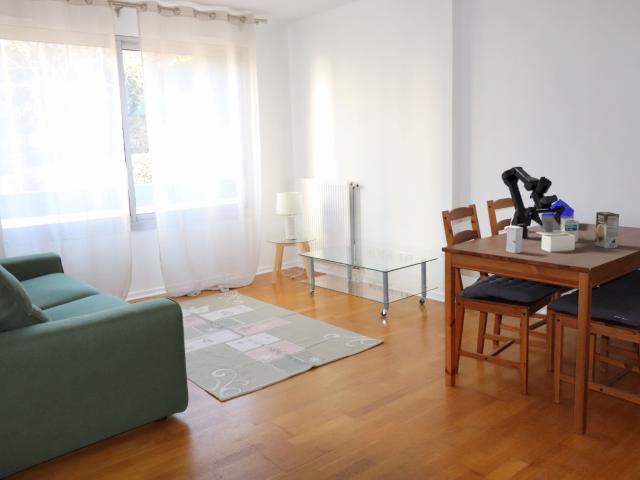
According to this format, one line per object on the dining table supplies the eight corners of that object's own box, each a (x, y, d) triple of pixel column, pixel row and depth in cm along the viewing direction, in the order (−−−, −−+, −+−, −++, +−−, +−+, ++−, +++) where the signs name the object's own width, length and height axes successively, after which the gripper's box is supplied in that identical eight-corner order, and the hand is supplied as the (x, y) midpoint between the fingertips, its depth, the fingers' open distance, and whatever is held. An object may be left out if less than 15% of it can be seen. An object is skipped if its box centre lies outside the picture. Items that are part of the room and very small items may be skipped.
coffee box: (594, 244, 279) (595, 212, 276) (606, 244, 279) (608, 211, 276) (604, 248, 270) (606, 214, 267) (617, 247, 270) (619, 213, 267)
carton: (541, 249, 273) (541, 234, 271) (564, 247, 274) (565, 233, 273) (550, 252, 265) (550, 237, 264) (574, 250, 266) (574, 235, 265)
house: (545, 223, 351) (546, 197, 349) (573, 224, 344) (575, 198, 341) (540, 229, 330) (541, 202, 327) (570, 230, 322) (572, 202, 320)
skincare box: (505, 251, 270) (506, 226, 268) (513, 250, 272) (513, 225, 270) (515, 253, 264) (515, 227, 262) (522, 252, 266) (523, 227, 264)
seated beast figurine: (503, 230, 330) (503, 209, 328) (517, 229, 331) (518, 208, 328) (510, 232, 321) (510, 211, 318) (525, 232, 321) (525, 210, 319)
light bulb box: (578, 242, 286) (579, 221, 284) (564, 242, 288) (564, 221, 286) (573, 238, 297) (574, 218, 295) (559, 238, 298) (560, 218, 296)
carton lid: (535, 232, 276) (536, 221, 275) (559, 231, 278) (560, 220, 277) (545, 235, 268) (545, 224, 267) (569, 234, 270) (569, 222, 269)
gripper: (528, 190, 275) (539, 215, 266) (564, 188, 278) (576, 213, 269) (519, 204, 284) (530, 229, 275) (554, 202, 287) (566, 227, 278)
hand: (551, 225), depth 274 cm, fingers open, 9 cm apart
